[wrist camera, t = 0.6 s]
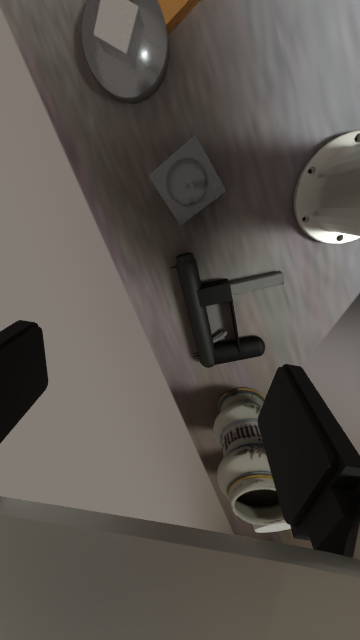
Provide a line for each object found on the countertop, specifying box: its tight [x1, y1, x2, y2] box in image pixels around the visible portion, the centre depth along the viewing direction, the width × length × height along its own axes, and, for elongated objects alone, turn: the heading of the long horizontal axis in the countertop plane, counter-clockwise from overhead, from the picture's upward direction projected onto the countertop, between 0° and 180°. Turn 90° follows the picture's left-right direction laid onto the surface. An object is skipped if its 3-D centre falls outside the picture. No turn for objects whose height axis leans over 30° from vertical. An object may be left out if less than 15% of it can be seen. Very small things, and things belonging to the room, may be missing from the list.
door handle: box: [172, 253, 284, 368], centre depth 38 cm, size 3×20×16 cm
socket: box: [148, 135, 226, 226], centre depth 28 cm, size 6×6×8 cm
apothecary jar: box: [213, 388, 285, 525], centre depth 39 cm, size 12×12×18 cm
